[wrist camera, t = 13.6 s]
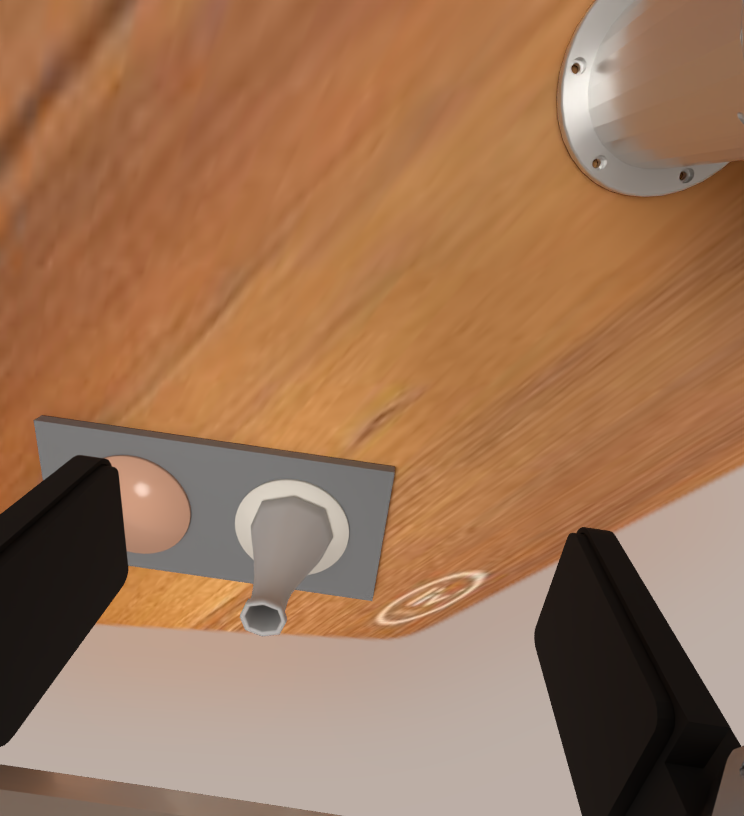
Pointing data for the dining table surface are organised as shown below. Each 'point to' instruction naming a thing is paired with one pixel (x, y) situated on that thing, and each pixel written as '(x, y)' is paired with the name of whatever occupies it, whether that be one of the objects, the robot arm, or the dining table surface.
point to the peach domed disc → (150, 505)
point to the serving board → (236, 498)
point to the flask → (282, 558)
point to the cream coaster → (301, 491)
